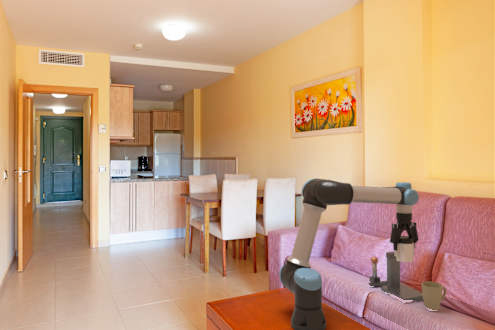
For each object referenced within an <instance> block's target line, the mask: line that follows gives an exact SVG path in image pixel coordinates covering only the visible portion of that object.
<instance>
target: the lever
mask: <svg viewBox="0 0 495 330" xmlns="http://www.w3.org/2000/svg"><path fill="white" fill-rule="evenodd" d="M370 262H371V264H372V265H371V267H372V269H371V272H372V275H370V276H369V283H373V284H377V283H380V281H381V277H379V276H378V262H379V258H378V257H377V256H372V257H371V258H370Z"/></svg>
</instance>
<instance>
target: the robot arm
mask: <svg viewBox="0 0 495 330" xmlns="http://www.w3.org/2000/svg"><path fill="white" fill-rule="evenodd" d="M412 188H413V186H412V183H411V182H405V181H402V182H396V183H395V186H382V187H381V186H380V187H379V186H364V185H363V186H362V185H352V184H351V183H349V182H341V181H336V180H331V179H325V178H311V179H309V180H307V181H305V183H304V184H303V186H302V189H301V195H302V197H303V198H302V199H303V200H302V203H301V204H302V206H303V211H302V214H301V219H300V223H299V225H298V230H297V233H296V238H295V241H294V243H293V248H292V252H291V255H290V256H289V257H288V258H286V261H285V263H284V264H283V265H282V266H281V267H280V269H279V273H278V277H279V280H280V284H282V285H283V287H284V288H285V289H287V290H289V291H290V293H292V294H293V295H294V308H293V311H292V315H291V319H290V326H291V327H292V329H294V330H326V329H327V319H326V317H325V314H324V311H323V294H322V293H323V290H322V286H323V280H322V279H323V278H322V275H321V273H320V272H319V271H318V270H316V269H314V268H313V269H311V268H312V265H311V263H310V259H311V255H312V251H313V247H314V244H315V240H316V236H317V233H318V228H319V225H320V221H321V217H322V214H323V212H325V211H327V208H328V206H340V205H346V206H347V205H351V204H352V203H359V204H381V205H382V204H384V205H385V204H386V205H388V204H389V205H396V206H395V209H396V215H395V216H396V217H395V219H396V222H395V223H391V231H390V237H389V243H391V244H393V247H392V250H393V252H394V254H395V256H396V257H399V244H398V242H399V239H400V237H401V236H402V234H403V233H404V231H405V232H406V233H407V236H409V237H412V238H413V257H414V256H415V249H416V244H417V242H419V235H418V234H419V233H418V230H417V222H415V221H412V220H413V214H412V212H413V206H415V205H416V204H417V203H418V202H419V197H420V196H419V193H418V191H416V189H412Z"/></svg>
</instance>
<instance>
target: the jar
mask: <svg viewBox="0 0 495 330" xmlns="http://www.w3.org/2000/svg"><path fill="white" fill-rule="evenodd" d="M398 244H399V257H396V260H397V261H400V263H414V256H413V238H412V237H409V236H408V235H401V237H400V239H399V242H398Z"/></svg>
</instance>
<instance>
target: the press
mask: <svg viewBox="0 0 495 330" xmlns="http://www.w3.org/2000/svg"><path fill="white" fill-rule="evenodd" d="M385 258H386V280H382V281H381V280H380V283H377V284H373V283H371V282H368V284H369V285H370V286H379V287H380V291H381V290H382V291H384V292H387V293H390V294H393V295H395V296H397V297H399V298H401V299H403V300H413V301H418V302H424V300H423V296H422V291H419V290H417V289H414V288H412V287H410V286H408V285H405V284H403V283H402V284H401V273H400V272H401V262H400V261H397V260H396V256H395V254H394V251H387V252H385Z"/></svg>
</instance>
